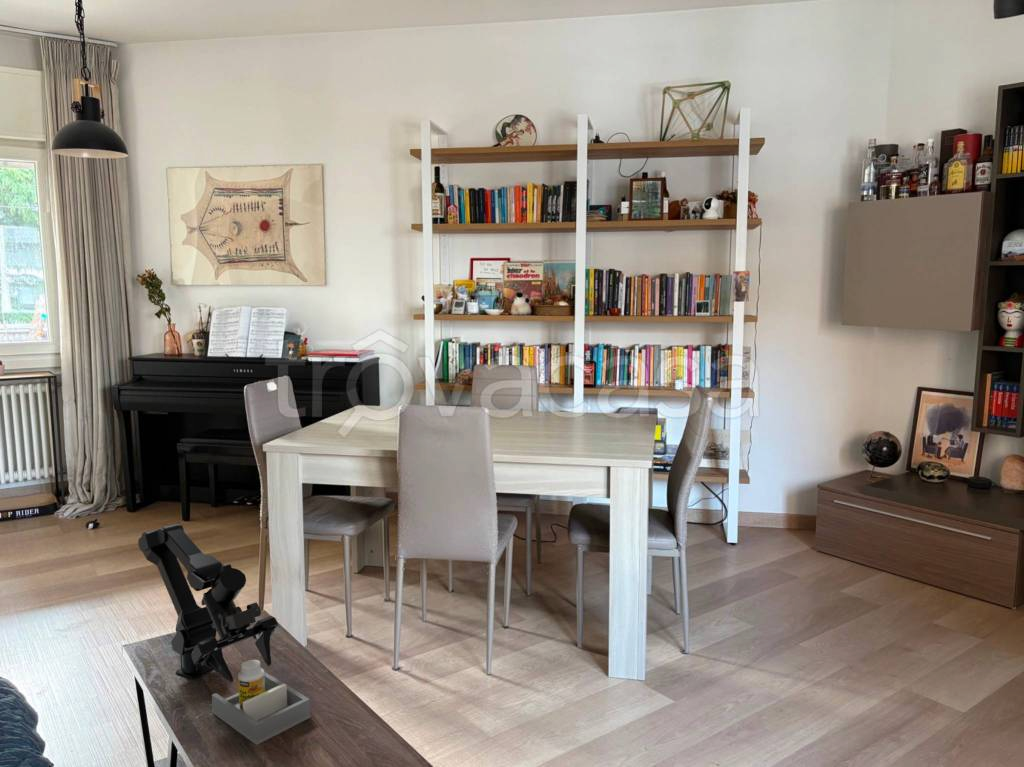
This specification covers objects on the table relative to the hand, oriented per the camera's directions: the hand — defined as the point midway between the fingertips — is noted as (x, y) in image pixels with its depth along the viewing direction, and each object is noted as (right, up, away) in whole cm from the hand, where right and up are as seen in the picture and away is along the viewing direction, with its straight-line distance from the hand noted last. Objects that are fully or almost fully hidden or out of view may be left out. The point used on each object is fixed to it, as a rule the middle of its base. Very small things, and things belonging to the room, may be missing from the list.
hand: (251, 673), depth 165 cm
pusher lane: (+3, -9, -1) cm, 9 cm away
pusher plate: (+4, -8, -2) cm, 9 cm away
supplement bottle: (0, -8, +1) cm, 8 cm away
